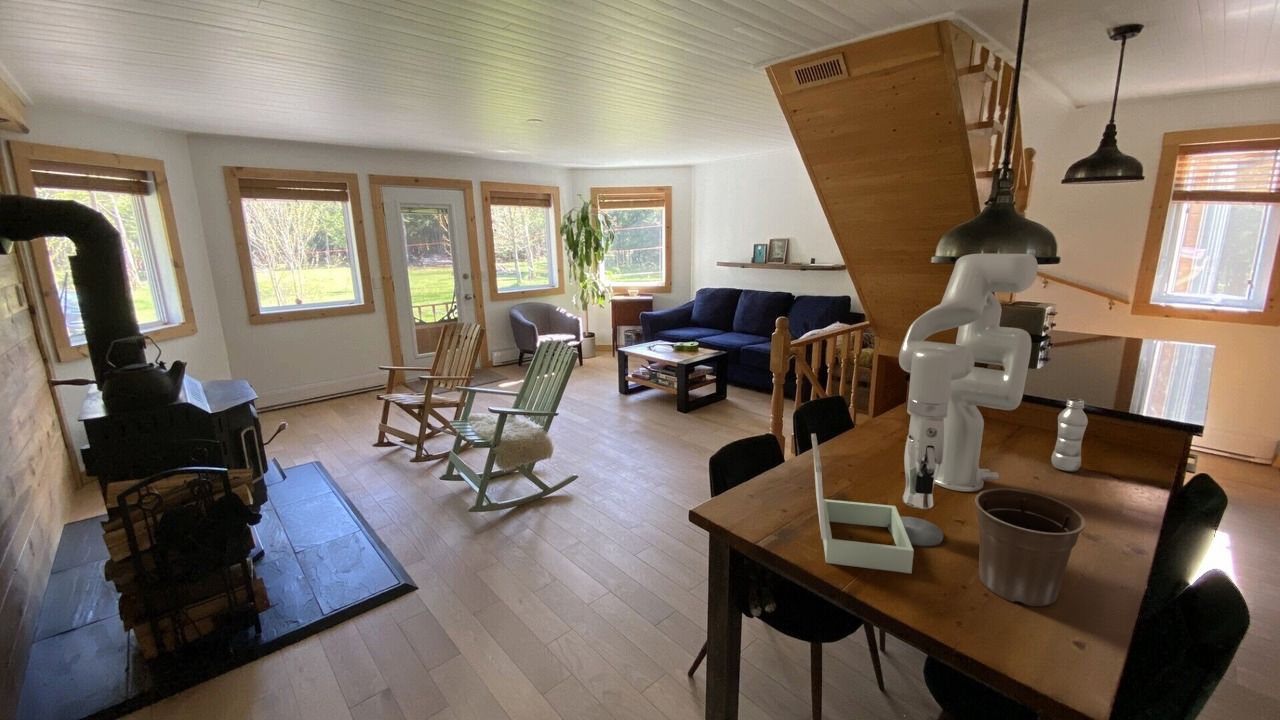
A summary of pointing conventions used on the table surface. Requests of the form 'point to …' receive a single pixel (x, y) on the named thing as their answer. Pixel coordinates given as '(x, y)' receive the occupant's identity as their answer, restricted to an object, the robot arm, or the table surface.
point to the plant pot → (1025, 544)
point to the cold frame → (867, 553)
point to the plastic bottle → (1070, 436)
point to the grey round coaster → (921, 531)
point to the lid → (818, 485)
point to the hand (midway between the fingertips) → (919, 484)
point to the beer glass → (911, 472)
